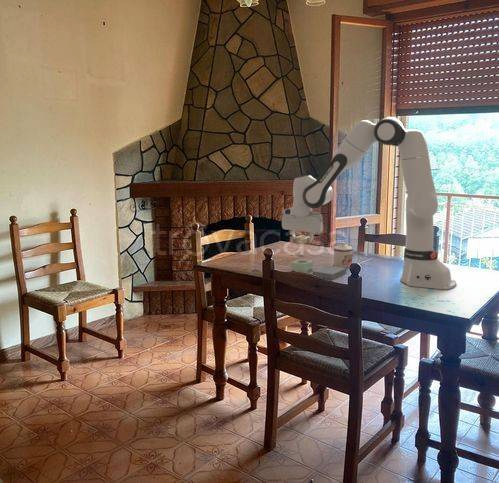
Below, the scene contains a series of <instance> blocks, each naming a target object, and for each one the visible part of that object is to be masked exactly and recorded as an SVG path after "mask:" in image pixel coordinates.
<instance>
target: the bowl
mask: <svg viewBox="0 0 499 483" xmlns="http://www.w3.org/2000/svg"><path fill="white" fill-rule="evenodd" d="M313 264H314V263H313V260H307V259H300V258H299V259H297V260H294V261H291V272H292V271H298V272H305V274H308V273H310V272H313Z"/></svg>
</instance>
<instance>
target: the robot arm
mask: <svg viewBox="0 0 499 483" xmlns="http://www.w3.org/2000/svg"><path fill="white" fill-rule="evenodd" d="M424 135H425V134H424V133H423V131H421V130H418V129H406V128H405V124H404V123H403V121H401V120H400V119H399V118H396V117H392V116H388V117H384V118H381V119H380V120H379V121H377V123H374V122H373V121H372V122H371V121H370V120H366V119H365V120H364V119H363V120H362V119H361V120H359V121H358V122H357V123H356V124H355V125H354V126H353V127H352V128H351V129H350V130H349V132H348V133H347V134H346V136H345V137H344V139H343V140H342V142H341V143H340V145H339V146H338V148H337V149H336V152H335V154H334V155H333V156H332V158H331V160H330V162H329V163H328V164H327V166H326V167H325V168H324V170H323V171H322V172H321V173H320V175H319V176H318V178H317V179H316V178H315V177H313V176H312V175H311V174H306V175H300V176H297V177H295V178H294V179H293V186H292V196H293V202H292V206H290V207H289V208H285V209H283V210H282V213H283V215H282V218H281V228H282V229H283V230H288V231H289V233H290V235H291V238H294V237H297V236H298V235H296V233H295V232H305V233H308V234H309V236H310V237H309V238H307V241H308V243H311V242H313V241H312V237H314V235H315V234H321V233H322V232H323V231H324V223H323V221H324V218H323V217H324V216H323V214H322V213H320V212H319V211H317V212H316V211H313V209H318V208H320V207H322V206H323V205H326V204H328V203H329V202H331V201H332V200H333V199H334V195H335V193H334V189H333V187H332V185H333V184H334V182H335V181H336V180H337V179H338V178H339V176H340V175H341V174H342V173H343V172H344V171H346V170H347V169H350V168H352V167H354V166H355V165H357V164H358V162H360V161H361V160H362V158H364V156H365V155H366V153H367V152H368V151H369V149H370V148H371V147H372V146H373V144H375V143H376V142H377V143H380V144H382V145H385V146H395V147H397V148H398V152H399V156H400V163H401V168H402V176H403V181H404V185H405V190H406V194H407V196H406V200H405V221H406V222H405V226H406V227H405V228H406V231H405V232H406V233H405V234H406V235H405V247H404V251H403V261H404V262H403V263H404V264H403V268H402V272H401V277H400V279H399V280H400V281H401V282H402V283H404V284H406V285H407V286H409V287H414V288H415V287H416V288H425V289H435V290H436V289H437V290H451V289H453V288H455V287H456V286H457V281H456V280H454V279H452V276H451V275H452V274H451V270H450V268H449V267H448V266H446V264H444V263H443V262H441V261H440V260H439V259H438V254H439V250H437V251H436V250H435V249H434V239H435V238H434V237H435V236H434V235H435V229H434V228H435V227H434V215H435V214H436V213H437V211H438V209H439V203H438V196H437V191H436V187H435V182H434V178H433V174H432V167H431V162H430V154H429V149H428V144H427V141H426V138H425V136H424Z"/></svg>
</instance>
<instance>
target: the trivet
mask: <svg viewBox="0 0 499 483" xmlns="http://www.w3.org/2000/svg"><path fill="white" fill-rule="evenodd" d="M346 274H347V268H341V267H335V266H334V265H324V266H321V267H318V268H317V269H314V270H312V276H313V275H316V276H319V277H322V278H321V279H324V278H325V280H331V281H333V280H336V279H338V278H339V277H342V276H344V275H346Z"/></svg>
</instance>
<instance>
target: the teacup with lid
mask: <svg viewBox="0 0 499 483" xmlns="http://www.w3.org/2000/svg"><path fill="white" fill-rule="evenodd" d="M354 255H355V252H354V249H353V247H352V246H349V245H348V244H346V242H344V241H343V242H342V241H341V243H340V244H338V245H336V246H334V248H333V266H335V267H341V268H346V269H350V268H349V266H350V265H351V264H352V265H353V258H354Z"/></svg>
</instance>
